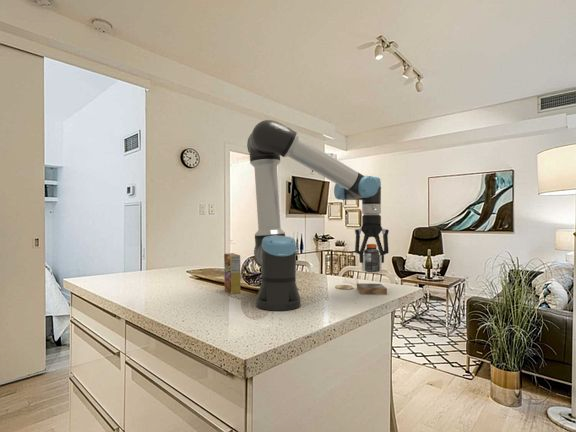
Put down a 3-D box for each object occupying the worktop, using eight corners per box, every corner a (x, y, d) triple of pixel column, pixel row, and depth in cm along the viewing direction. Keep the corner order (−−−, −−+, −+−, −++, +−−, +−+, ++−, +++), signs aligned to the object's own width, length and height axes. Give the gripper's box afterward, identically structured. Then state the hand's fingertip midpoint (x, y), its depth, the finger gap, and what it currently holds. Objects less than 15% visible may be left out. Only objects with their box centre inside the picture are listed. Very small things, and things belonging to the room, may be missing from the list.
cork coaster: (336, 289, 140) (336, 288, 140) (333, 285, 148) (333, 284, 148) (354, 289, 140) (354, 288, 140) (351, 286, 148) (351, 284, 148)
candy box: (223, 290, 137) (223, 253, 137) (233, 289, 139) (233, 252, 139) (230, 294, 129) (230, 255, 129) (240, 293, 131) (241, 254, 131)
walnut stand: (361, 294, 131) (361, 287, 131) (356, 289, 141) (356, 283, 141) (386, 294, 131) (386, 287, 131) (380, 289, 141) (380, 283, 141)
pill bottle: (377, 270, 139) (377, 243, 139) (380, 272, 133) (380, 244, 133) (363, 270, 139) (363, 243, 139) (365, 272, 133) (365, 244, 133)
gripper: (350, 214, 133) (350, 272, 132) (397, 214, 132) (397, 272, 132) (347, 214, 140) (347, 269, 140) (391, 214, 140) (392, 269, 139)
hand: (371, 270), depth 136 cm, fingers closed on pill bottle, 6 cm apart
